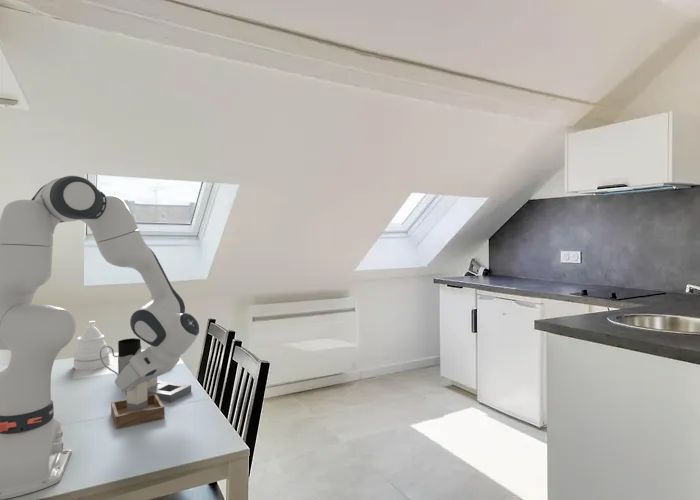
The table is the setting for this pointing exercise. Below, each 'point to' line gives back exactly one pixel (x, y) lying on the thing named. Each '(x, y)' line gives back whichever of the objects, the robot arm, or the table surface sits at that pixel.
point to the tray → (137, 412)
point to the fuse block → (169, 390)
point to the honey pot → (91, 349)
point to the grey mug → (125, 352)
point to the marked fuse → (137, 397)
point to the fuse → (152, 383)
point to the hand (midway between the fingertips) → (135, 386)
